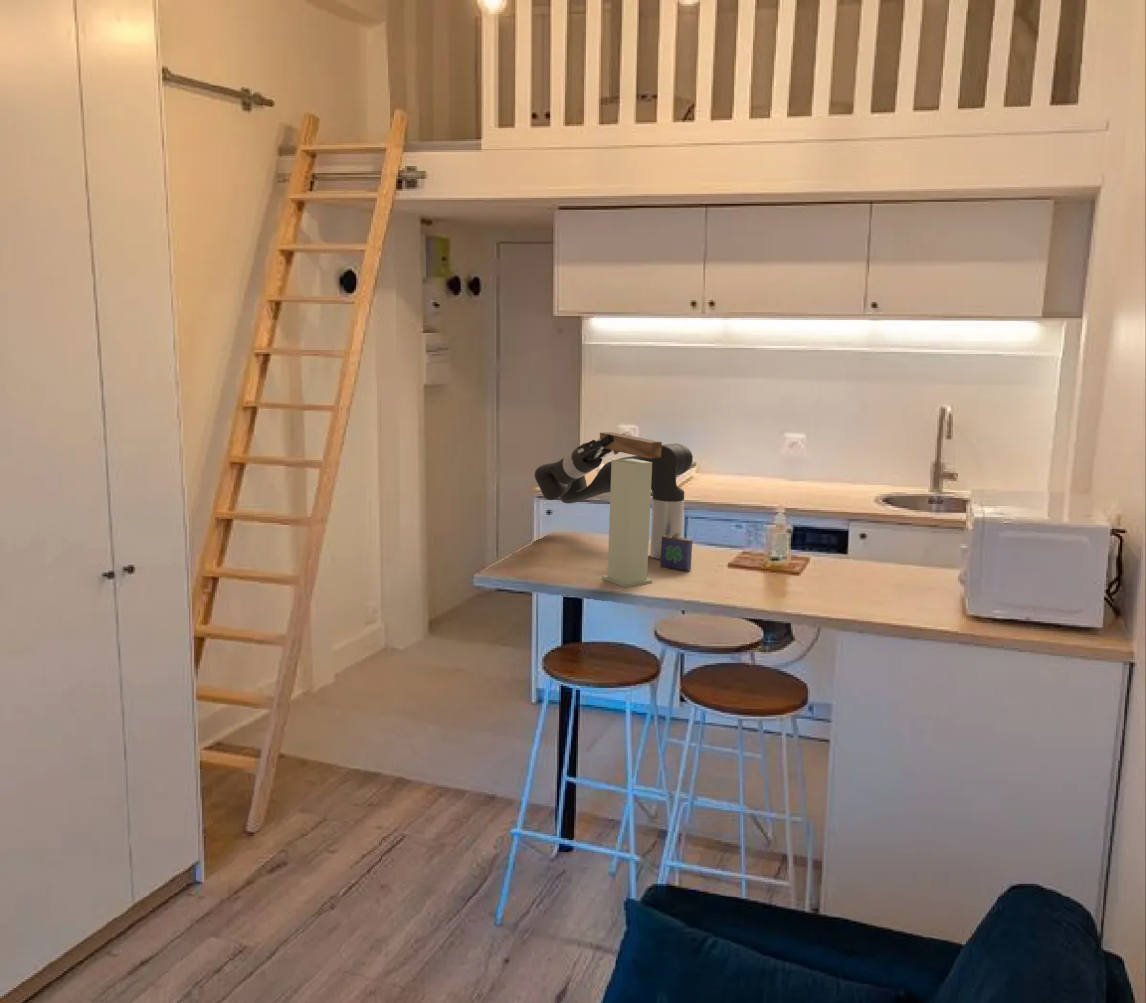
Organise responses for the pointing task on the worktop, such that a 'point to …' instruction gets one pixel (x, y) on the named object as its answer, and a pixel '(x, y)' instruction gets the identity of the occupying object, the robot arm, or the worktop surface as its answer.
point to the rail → (634, 445)
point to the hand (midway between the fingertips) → (618, 437)
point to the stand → (629, 522)
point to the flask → (676, 553)
